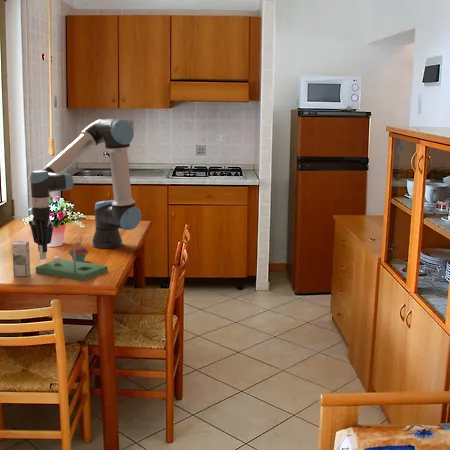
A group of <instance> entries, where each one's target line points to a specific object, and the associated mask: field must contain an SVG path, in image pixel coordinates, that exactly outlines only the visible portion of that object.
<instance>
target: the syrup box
mask: <svg viewBox="0 0 450 450" xmlns="http://www.w3.org/2000/svg"><path fill="white" fill-rule="evenodd" d="M11 248H12V249H11V250H12V270H13V277H15V278H27V277H29V276H30V275H31V262H30V261H31V259H30V257H31V256H30V241H29V240H25V241H24V240H15V241H14V242H12V244H11Z"/></svg>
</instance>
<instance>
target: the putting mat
mask: <svg viewBox="0 0 450 450" xmlns="http://www.w3.org/2000/svg"><path fill="white" fill-rule="evenodd" d="M72 248H73V257H74V261H73V260H70V259H63V258H61V262H60V264H54V263H53V260H52V261H50V262H47V263H43V264H41V265H38V266H35V273H36V274H42V275H48V276H54V277H59V278H65V279H72V280H77V281H83V282H84V281H88V280H90V279H93V278H95V277H97V276H100V275H103V274H105V273H106V274H107V273H109V272H108V270H109V268H108V267H109V266H108V265H102V264H97V263H90V262H85V261H84V262H77V261H76V258H75V250H77V249H80V242H77V243H73V244H72Z"/></svg>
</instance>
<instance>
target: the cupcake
mask: <svg viewBox="0 0 450 450" xmlns="http://www.w3.org/2000/svg"><path fill="white" fill-rule="evenodd" d="M79 239H80V241H79V243H80V249H77V250H75V258H76V261H77V262H84V263H85V258H86V256H87V255H88V254H89V253H88V252H89V251H88V249H87V247H84V246H82V243H83V235H81V236H80V238H79ZM68 255H69V256H70V257H71V258H72V261H74V257H73V247H72V248H70V249H69V251H68Z"/></svg>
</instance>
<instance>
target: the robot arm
mask: <svg viewBox="0 0 450 450" xmlns="http://www.w3.org/2000/svg"><path fill="white" fill-rule="evenodd" d="M134 133H135V132H134V128H133V125H132V124H131V123H130V122H129V121H128V120H126V119H123V118H106V117H104V118H100V119H99V118H98V119H96V120H95V121H93V122H91V123H90V124H89V125H87V126H86V127H85V128H83V130H82V131H81V132H80V134H79V136H78V137H77V138H76V139H74V141H72V142H71V143H70V144H69V145H67V147H65V149H63V150H62V151H60V153H58V155H57V156H55V157H54V158H53V159H51V161H50V162H49V163H47V164H46V165H45V166H44V167H43V168H41V170H33V171H31V173H30V178H29V181H30V191H31V193H30V194H31V206H32V208H31V214H32V216H33V217H32V220H29V221H28V224H29V226H30V230H31V235H32V238H33V242H34V244H37V247H38V248H37V249H38V250H37V251H38V254H39V260H41V261H44V260H46V259H47V252H48V245H49V244H51V243H52V237H53V231H54V227H55V225H56V224H55V222H52V221H51V219H50V216H51V207H50V205H51V201H50V192H51V193H52V192H59V191H61V192H62V191H68V190H71V189H72V188H73V187H74V178H73V176H72V174H71V173H68V172H65V171H66V170H68V168H70V167H71V166H72V165H73V164H74V163H76V162H77V161H78V160H79V159H80V158H81V157H82V156H83V155H85V153H87V152H88V151H89V150H90V149H91V148H96V146H98V145H100V144H102V143H104V145H105V146H104V147H105V149H106V150H107V151H108V153H109V161H110V162H109V163H110V171H111V172H110V173H111V180H112V181H111V182H112V192H113V199H110V200H103V201H101V200H100V201H97V202H95V204H94V220H95V221H94V222H95V224H94V225H95V232H94V235H93V238H92V247H94V248H98V249H115V248H120V247H122V246H123V239H122V235H121V232H120V230H121V229H122V230H123V231H124V230H127V231H128V230H129V231H132V230H135V229H136V228H137V227H138V226H139V224H140V222H141V221H142V212H141V210H140V209H139V207H137V206H136V200H134V199H133V198H132V197H133V196H132V187H131V177H130V167H129V156H128V150H129V148H130V147H131V145H130V144H131V142H133V139H134V137H135V134H134ZM119 229H120V230H119Z"/></svg>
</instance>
